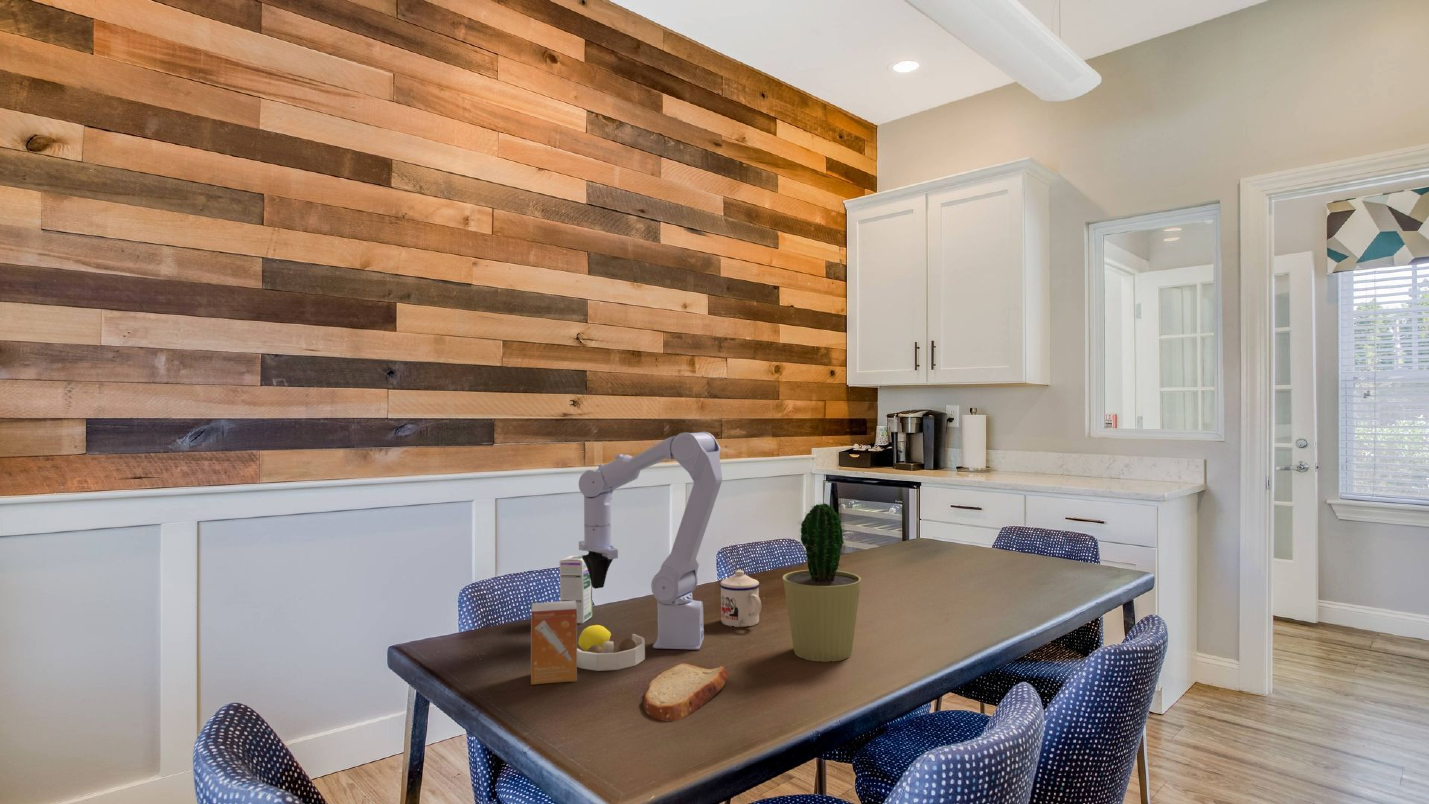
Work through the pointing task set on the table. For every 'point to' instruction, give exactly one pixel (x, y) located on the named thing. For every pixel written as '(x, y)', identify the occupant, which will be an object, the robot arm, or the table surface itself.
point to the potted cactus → (822, 592)
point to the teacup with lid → (740, 600)
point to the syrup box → (576, 586)
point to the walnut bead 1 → (596, 649)
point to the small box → (553, 642)
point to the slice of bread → (682, 691)
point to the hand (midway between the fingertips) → (598, 587)
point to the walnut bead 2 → (626, 644)
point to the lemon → (593, 637)
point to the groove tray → (612, 656)
